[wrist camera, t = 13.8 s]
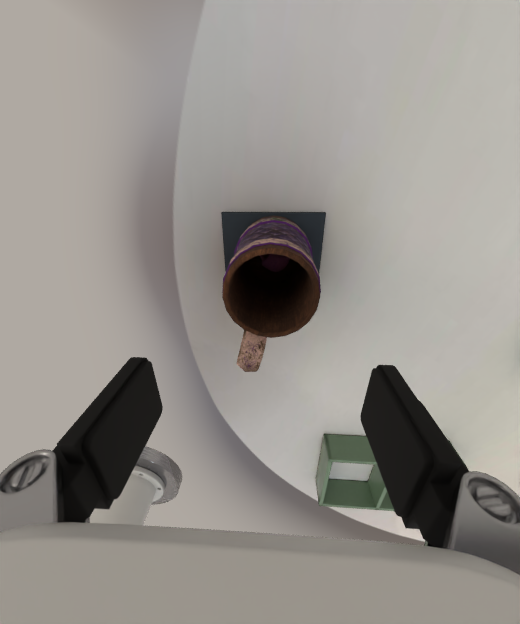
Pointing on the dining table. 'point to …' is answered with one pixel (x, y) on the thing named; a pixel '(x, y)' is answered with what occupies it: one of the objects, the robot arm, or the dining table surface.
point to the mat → (240, 221)
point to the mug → (270, 285)
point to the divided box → (346, 490)
